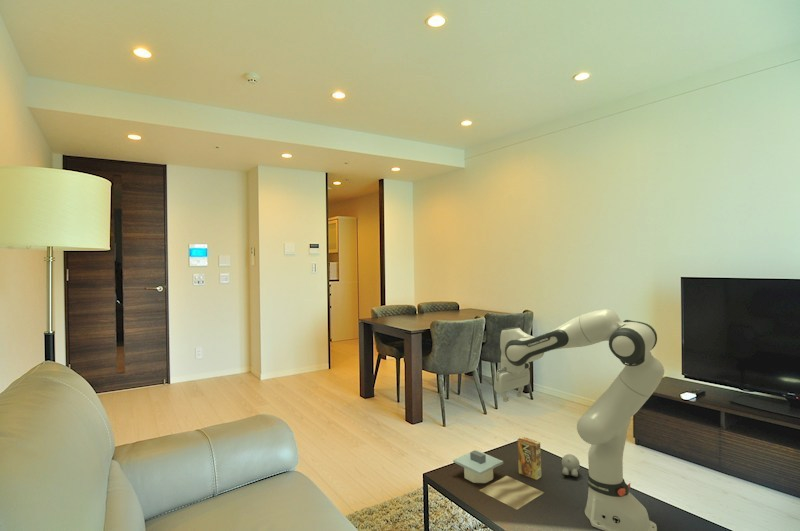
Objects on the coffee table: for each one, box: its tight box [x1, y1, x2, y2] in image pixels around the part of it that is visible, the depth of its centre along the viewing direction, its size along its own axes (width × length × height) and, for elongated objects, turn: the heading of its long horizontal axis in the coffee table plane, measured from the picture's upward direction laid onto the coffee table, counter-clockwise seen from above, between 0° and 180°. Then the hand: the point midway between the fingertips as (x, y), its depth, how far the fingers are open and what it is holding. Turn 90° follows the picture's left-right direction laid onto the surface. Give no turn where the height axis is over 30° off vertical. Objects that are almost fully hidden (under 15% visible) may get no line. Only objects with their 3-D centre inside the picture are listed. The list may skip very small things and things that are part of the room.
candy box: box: [517, 436, 542, 481], centre depth 181 cm, size 9×4×15 cm, turn 44°
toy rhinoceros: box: [561, 453, 581, 478], centre depth 182 cm, size 7×12×8 cm, turn 152°
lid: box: [452, 449, 504, 475], centre depth 181 cm, size 15×15×4 cm
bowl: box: [463, 467, 494, 484], centre depth 181 cm, size 12×12×6 cm
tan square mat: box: [478, 475, 545, 510], centre depth 168 cm, size 18×18×1 cm
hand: (512, 399), depth 176 cm, fingers open, 8 cm apart
